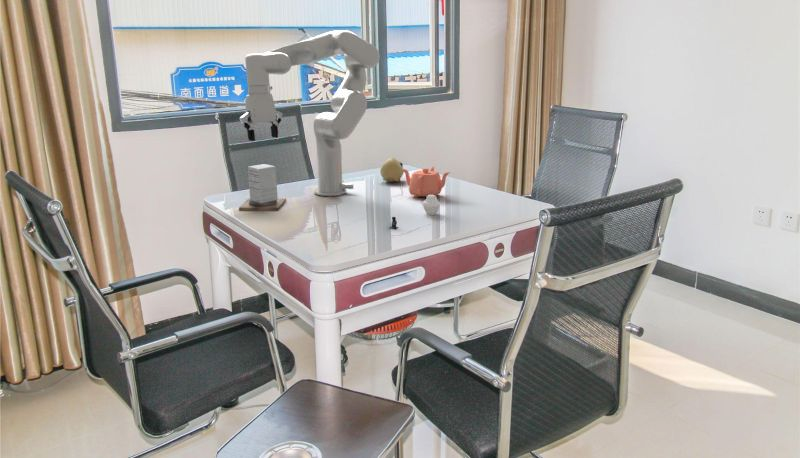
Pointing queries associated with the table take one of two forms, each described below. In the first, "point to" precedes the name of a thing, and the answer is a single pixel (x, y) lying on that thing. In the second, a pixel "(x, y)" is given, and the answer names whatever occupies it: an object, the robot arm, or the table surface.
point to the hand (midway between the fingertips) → (263, 138)
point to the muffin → (431, 205)
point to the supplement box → (262, 183)
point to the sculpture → (393, 224)
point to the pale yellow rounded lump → (392, 170)
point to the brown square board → (263, 205)
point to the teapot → (425, 182)
